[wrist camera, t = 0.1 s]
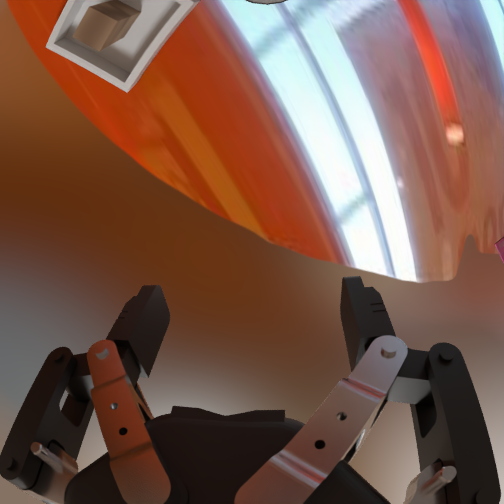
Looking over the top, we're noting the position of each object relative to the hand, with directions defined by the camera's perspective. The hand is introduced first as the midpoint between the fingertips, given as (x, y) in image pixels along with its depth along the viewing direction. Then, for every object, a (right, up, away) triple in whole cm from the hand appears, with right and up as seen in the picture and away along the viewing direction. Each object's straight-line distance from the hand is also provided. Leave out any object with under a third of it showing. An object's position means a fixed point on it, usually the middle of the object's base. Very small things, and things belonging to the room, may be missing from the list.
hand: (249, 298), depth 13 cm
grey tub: (-16, +30, +13) cm, 37 cm away
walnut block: (-16, +30, +13) cm, 36 cm away
